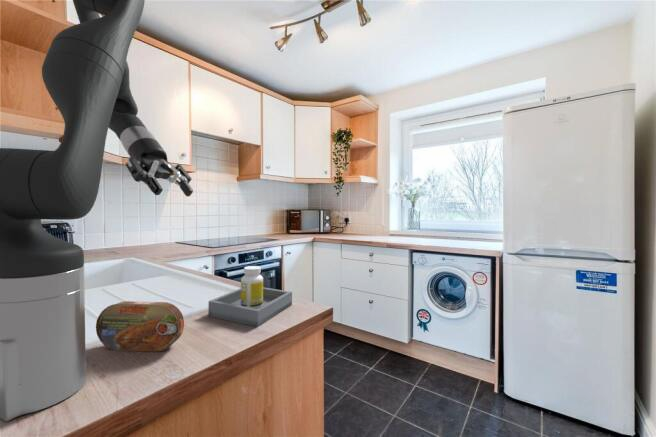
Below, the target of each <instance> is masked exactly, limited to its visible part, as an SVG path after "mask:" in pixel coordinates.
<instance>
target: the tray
mask: <svg viewBox="0 0 656 437" xmlns="http://www.w3.org/2000/svg"><path fill="white" fill-rule="evenodd" d="M292 305H293V291H289V290H281V289H278V288H277V289H275V288H271V287H270V288H269V287H264V286H263V305H262V306H261V307H260V308H257V309H255V308H250V307H245V306H241V287H240V288H238V289H235V290H232V291H231V292H228V293H225V294H224V295H221V296H218V297H215V298H213V299H209V301H208V310H207V311H208V317H212V318H217V319H222V320H226V321H230V322H234V323H239V324H244V325H248V326H251V327H257V328H258V327H260V326H261V325H263V324H265V323H267V322H268V321H269V320H271V319H273V318H274V317H276V316H277V315H279V314H280V313H281V312H283V311H285V310H287V309H288V308H290V307H291V306H292Z"/></svg>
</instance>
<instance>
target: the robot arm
mask: <svg viewBox="0 0 656 437" xmlns="http://www.w3.org/2000/svg"><path fill="white" fill-rule="evenodd" d="M145 1H146V0H72V2H73V5H74V9H75V12H76V14H77V18H78V21H79V23H77V24H74V25H71V26H69V27H67V28H64V29H62V30H61V31H60V32H58V33H57V34H56V36H55V37H54V38H53V39H52V41H51V44H50V45H49V48H48V51H47V52H46V55H45V58H44V60H43V63H42V66H41V75H42V76H41V77H42V81H43V84H44V86H45V88H46V90H47V92H48V94H49V96H50V98H51V99H52V101H53V103H54V104H55V106H56V107H57V108H56V109H57V110H58V111H59V112H60V115H61V116H62V119H63V121H64V129H63V134H62V139H61V141H60V144H59V145H58V147H57V148H56V149H55V150H46V149H44V150H43V149H31V148H30V149H28V148H11V147H8V148H7V147H5V148H4V147H3V148H2V147H0V419H1V420H2V421H4V422H9V421H10V420H13V419H14V418H17V417H19V416H22V415H27V414H30V413H35V412H37V411H40V410H43V409H46V408H49V407H51V406H54V405H56V404H59V403H60V402H62V401H64V400H66V399H68V398H70V397H71V396H73V395H74V394H76V393H77V392H78V391H79V390H80V389H81V388H82V387H83V386H84V385H85V383H86V381H87V363H86V362H87V360H86V359H87V358H86V357H87V356H86V307H85V306H86V304H85V303H86V302H85V296H86V294H85V253H84V250H83V248H82V247H81V246H80V245H78V244H76V243H74V242H69V241H66V240H63V239H61V238H58V237H56V236H54V235H53V234H51V233H49V232H48V231H47V230H45V228H44V227H43V224H42V220H43V221H44V220H50V221H51V220H52V221H53V220H55V221H59V220H60V221H65V220H67V221H68V220H69V221H70V220H71V221H72V220H78V219H81V218H84V217H85V216H87V215H88V214H89V213H90V212H91V210H92V208H94V205H95V202H96V201H97V198H98V194H99V189H100V184H101V177H102V171H103V162H104V156H105V155H104V154H105V150H106V149H105V147H106V142H107V136H108V131H109V129H110V130H111V131H112V132H113V133H114V134H115V135H116V137H117V138H118V139H119V141H120V142H121V144H122V146H123V148H124V150H125V151H126V153H127V154H128V156H129V158H128V159H127V162H126V163H125V166H126V169H127V170H128V171H129V173H130V175H131V177H132V178H133V180H134V181H135V182H138V183H140V182H142V183H143V184H144V185H147V187H148V188H149V190H150V191H151V192H152V193H153V194H154V196H160V195H161V193H162V192H163V190H164V189H163V187H162V185H161V184H160V182H159V181H158V180H157V179H163V180H166V181H168V182H169V183H170V184H173V183H174V184H175V185H177V186H178V187H179V188H180V190H181V191H182V192H183V194H184V195H185V197H191V195H192V194H193V192H194V189H193V188H192V187H191V186H190V182H191V181H192V180H193V178H192V177H191V175H189V173H188V172H187V171H186V170H185V168H184V167H183V165H182V164H180V163H177V164H176V165H172V164H171V162H169V161H168V155H167V152H166V151H165V149H164V148H163V147H162V146H161V144H160V143H159V141H158V140H157V139H156V137H155V135H153V134H152V133H151V131H150V130H148V128H147V127H146V125H145V124H144V123H143V120H141V119H140V117H138V112H139V111H138V105H137V103H136V101H135V99H134V96H133V94H132V91H131V87H130V67H129V64H128V61H127V57H128V53H129V50H130V47H131V43H132V41H133V38H134V36H135V32H136V31H137V27H138V26H139V23H140V20H141V17H142V15H143V12H144V8H145V7H144V6H145ZM101 15H102V16H101ZM172 174H173V177H171V176H172Z"/></svg>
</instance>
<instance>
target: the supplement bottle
mask: <svg viewBox="0 0 656 437" xmlns="http://www.w3.org/2000/svg"><path fill="white" fill-rule="evenodd" d="M261 269H262V268H261V266H259V265H250V266H249V265H248V266H245V267H243V273H244V275H243V276H242V277H241V278H240V288H241V306H245V307H250V308H255V309H257V308H260V307H261V306H262V305H263V287H264V277H263V276H262V275H261V272H262V271H261Z"/></svg>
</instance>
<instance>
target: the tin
mask: <svg viewBox="0 0 656 437" xmlns="http://www.w3.org/2000/svg"><path fill="white" fill-rule="evenodd" d="M184 326H185V319H184V315H183V313H182V312H181V310H180V309H179V308H178V307H177V306H176V305H175V304H173V303H171V302H167V301H166V302H165V301H134V300H133V301H131V300H127V301H121V302H118V303H114V304H111V305H109V306H107V307H106V308H104V309H103V310H101V312H100V314H99V315H98V317H97V319H96V323H95V329H96V330H95V332H96V335H97V338H98V339H99V341H100V343H102V345H103V346H104V347H106V348H108V349H109V350H112V351H120V352H121V351H123V352H125V351H126V352H127V351H129V352H151V353H152V352H153V353H154V352H163V351H165V350H167V349H169V348H170V347H172V346H173V344H174V343H176V341H178V340H179V339H180V338H181V336H182V334H183V331H184V328H185V327H184Z"/></svg>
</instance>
